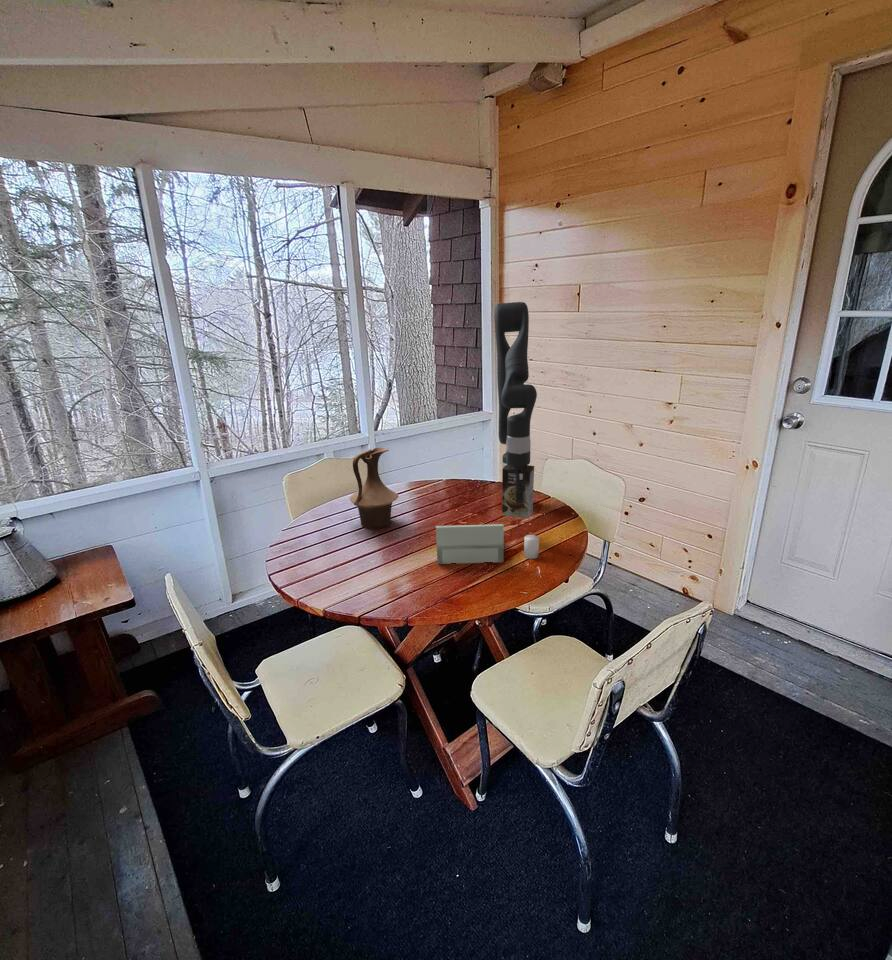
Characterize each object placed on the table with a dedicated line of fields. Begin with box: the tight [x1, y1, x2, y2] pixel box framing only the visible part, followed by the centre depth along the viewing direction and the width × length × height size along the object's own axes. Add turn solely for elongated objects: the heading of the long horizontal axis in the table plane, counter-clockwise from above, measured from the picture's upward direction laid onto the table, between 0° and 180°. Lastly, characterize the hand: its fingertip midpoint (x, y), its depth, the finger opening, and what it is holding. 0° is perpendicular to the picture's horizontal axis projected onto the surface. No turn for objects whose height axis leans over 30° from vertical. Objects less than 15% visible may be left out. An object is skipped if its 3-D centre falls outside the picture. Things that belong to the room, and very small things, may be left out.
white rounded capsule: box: [523, 534, 540, 560], centre depth 158 cm, size 4×4×6 cm
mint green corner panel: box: [435, 523, 505, 565], centre depth 160 cm, size 14×20×12 cm
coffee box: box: [501, 464, 535, 519], centre depth 165 cm, size 9×6×16 cm
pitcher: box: [349, 447, 399, 530], centre depth 182 cm, size 18×17×28 cm
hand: (517, 497), depth 166 cm, fingers closed on coffee box, 8 cm apart
